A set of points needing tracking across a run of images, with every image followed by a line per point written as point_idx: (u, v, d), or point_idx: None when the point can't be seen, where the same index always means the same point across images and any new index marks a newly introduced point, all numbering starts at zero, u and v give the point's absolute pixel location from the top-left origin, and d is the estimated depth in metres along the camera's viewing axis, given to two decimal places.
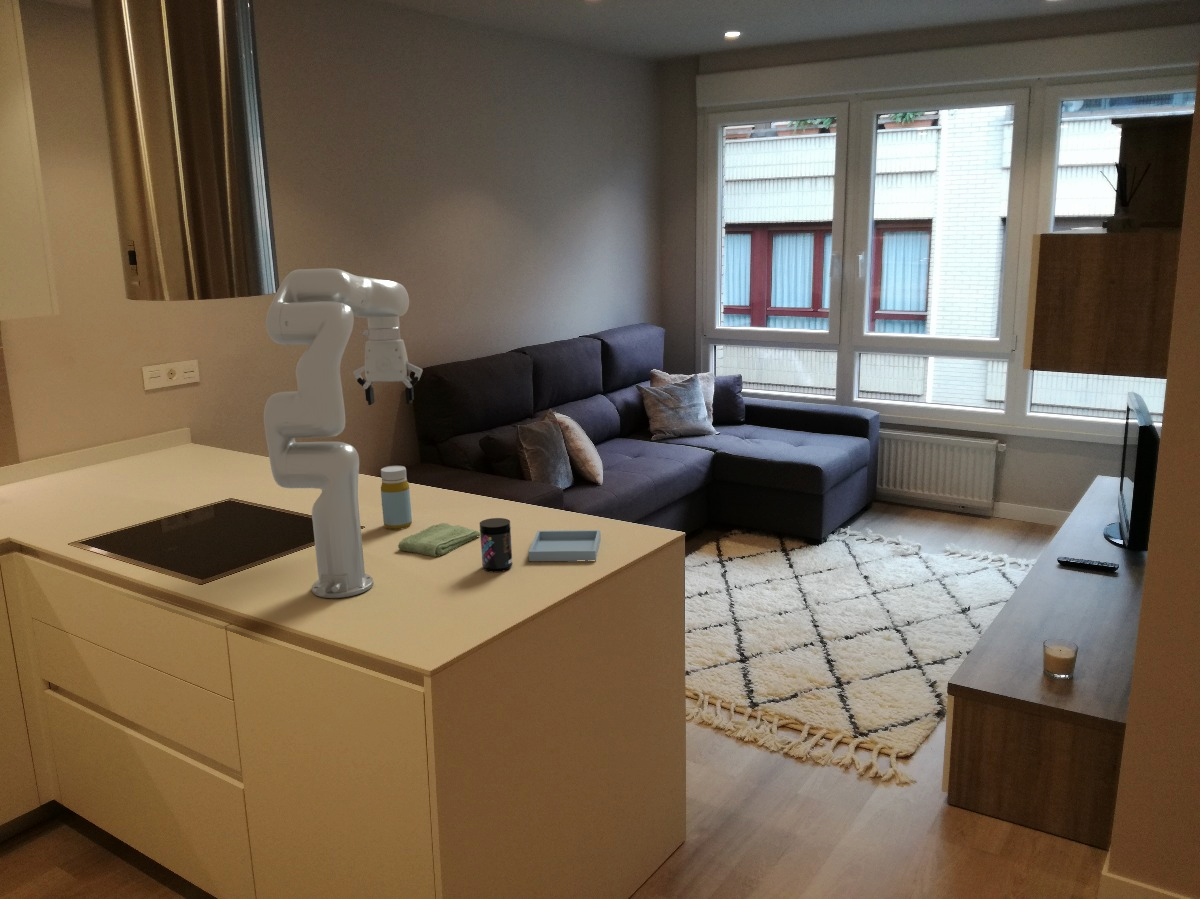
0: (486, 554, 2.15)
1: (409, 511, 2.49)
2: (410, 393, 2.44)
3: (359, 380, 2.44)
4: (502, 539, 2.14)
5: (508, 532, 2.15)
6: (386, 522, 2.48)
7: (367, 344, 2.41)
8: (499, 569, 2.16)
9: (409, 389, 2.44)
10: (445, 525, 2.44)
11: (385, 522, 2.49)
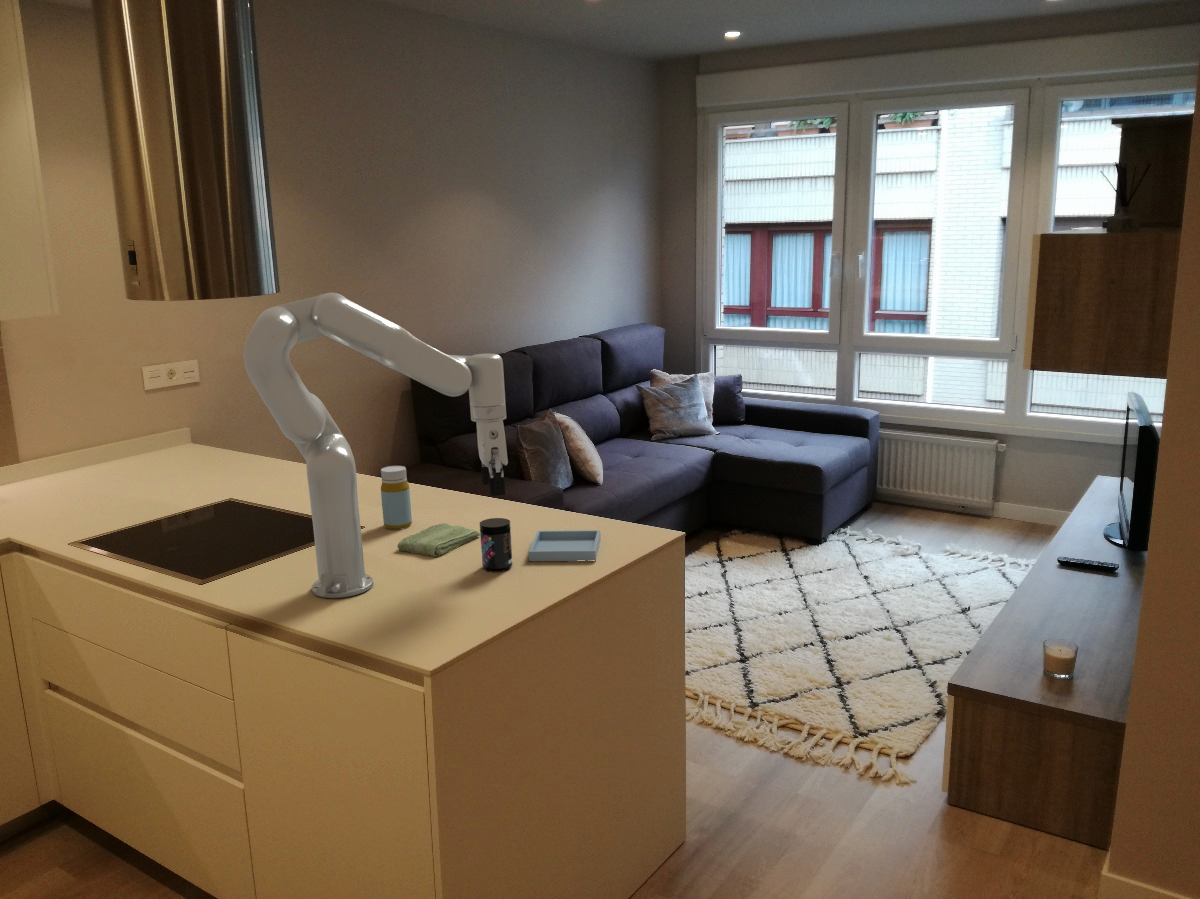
0: (486, 554, 2.15)
1: (409, 511, 2.49)
2: None
3: None
4: (502, 539, 2.14)
5: (508, 532, 2.15)
6: (386, 522, 2.48)
7: (502, 423, 2.08)
8: (499, 569, 2.16)
9: None
10: (445, 525, 2.44)
11: (385, 522, 2.49)
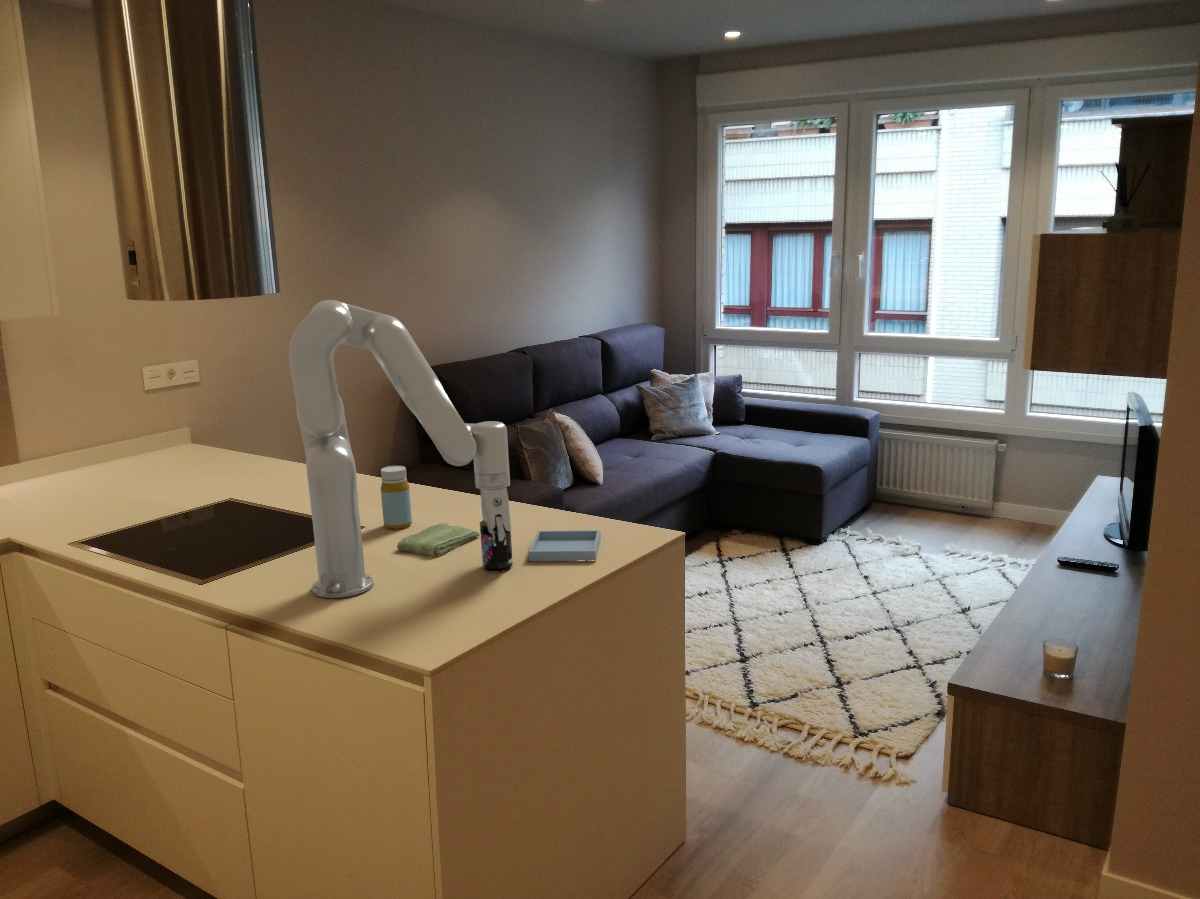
0: (486, 554, 2.15)
1: (409, 511, 2.49)
2: None
3: None
4: None
5: (508, 532, 2.15)
6: (386, 522, 2.48)
7: (506, 490, 2.12)
8: (499, 569, 2.16)
9: None
10: (444, 525, 2.44)
11: (385, 522, 2.49)
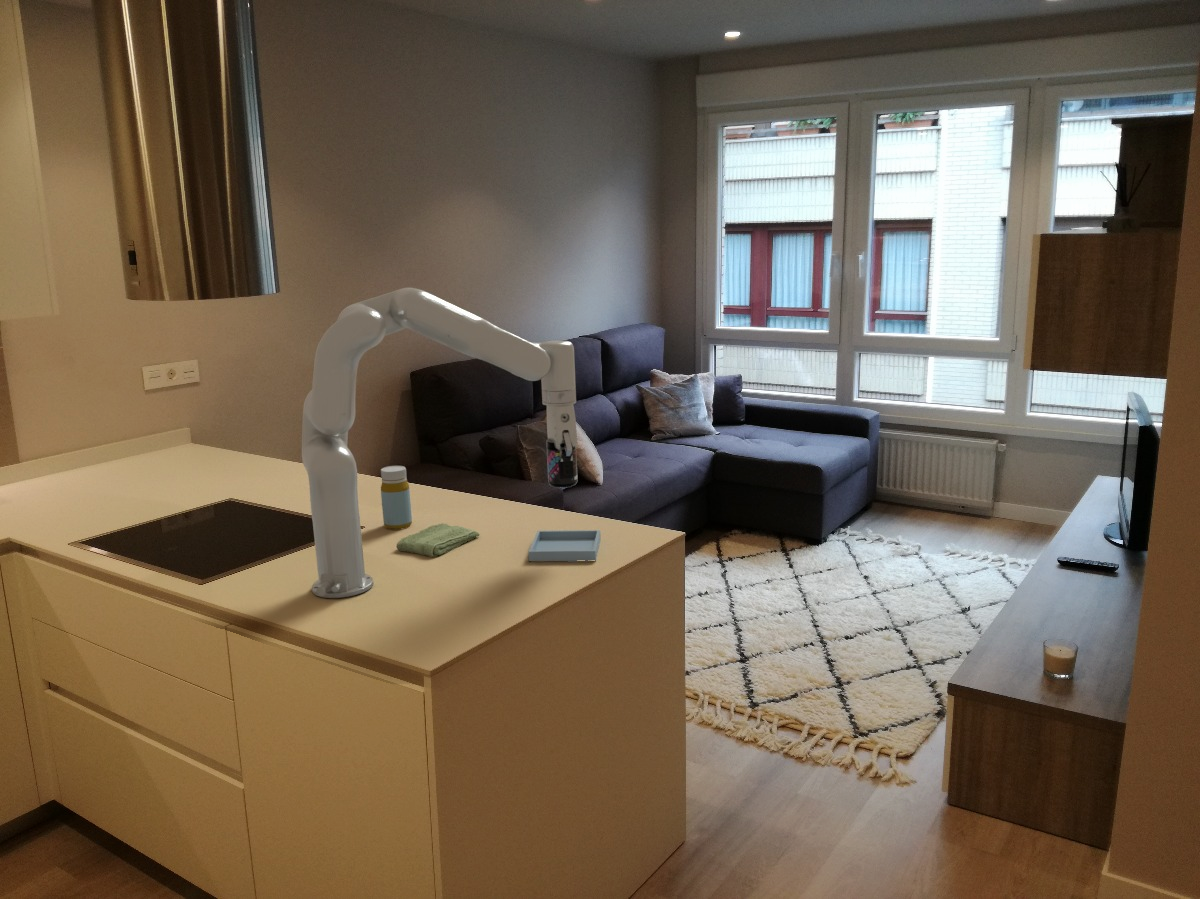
0: (552, 470, 2.21)
1: (409, 511, 2.49)
2: None
3: None
4: None
5: (574, 449, 2.21)
6: (386, 522, 2.48)
7: (573, 407, 2.18)
8: (565, 485, 2.21)
9: None
10: (444, 525, 2.44)
11: (385, 522, 2.49)
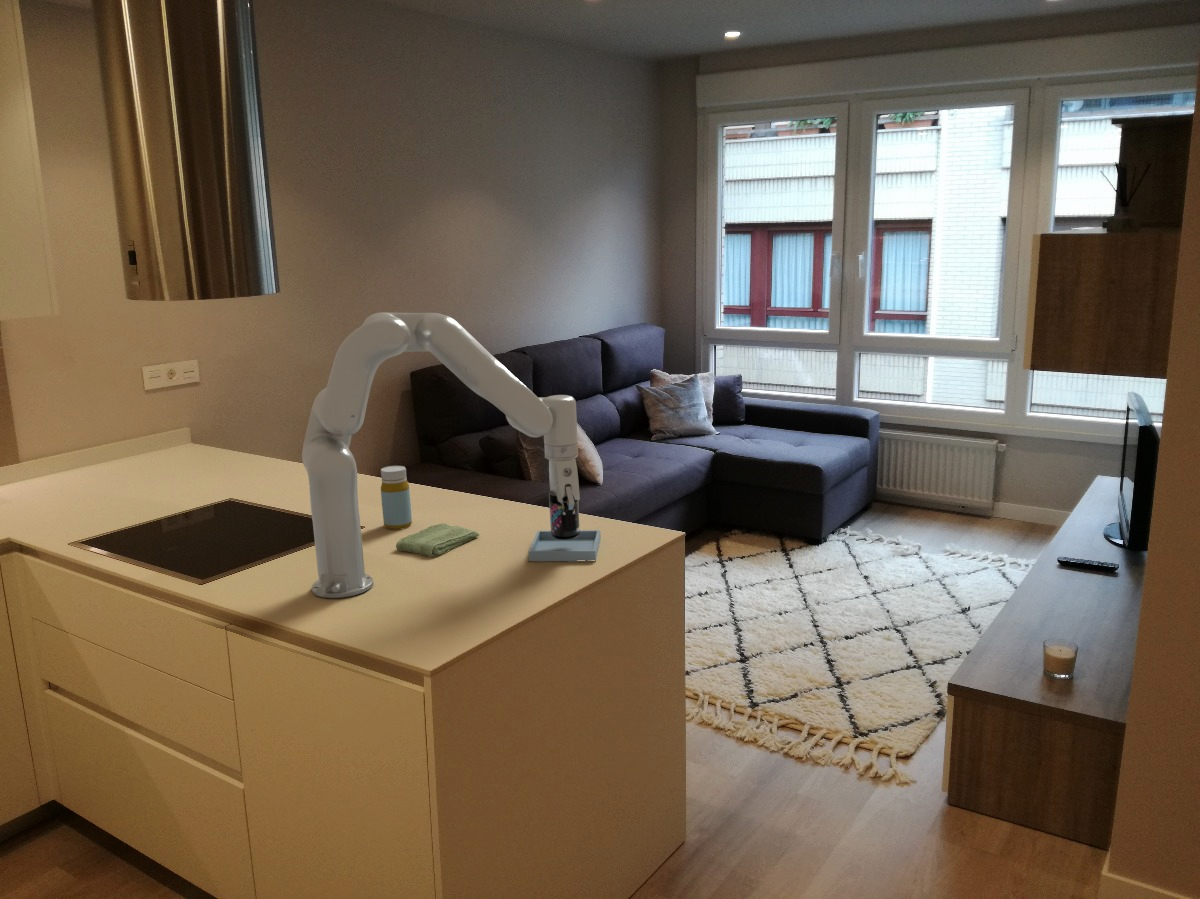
0: (555, 522, 2.24)
1: (409, 511, 2.49)
2: None
3: None
4: None
5: (576, 501, 2.24)
6: (386, 522, 2.48)
7: (575, 461, 2.20)
8: (568, 537, 2.24)
9: None
10: (444, 525, 2.44)
11: (385, 522, 2.49)
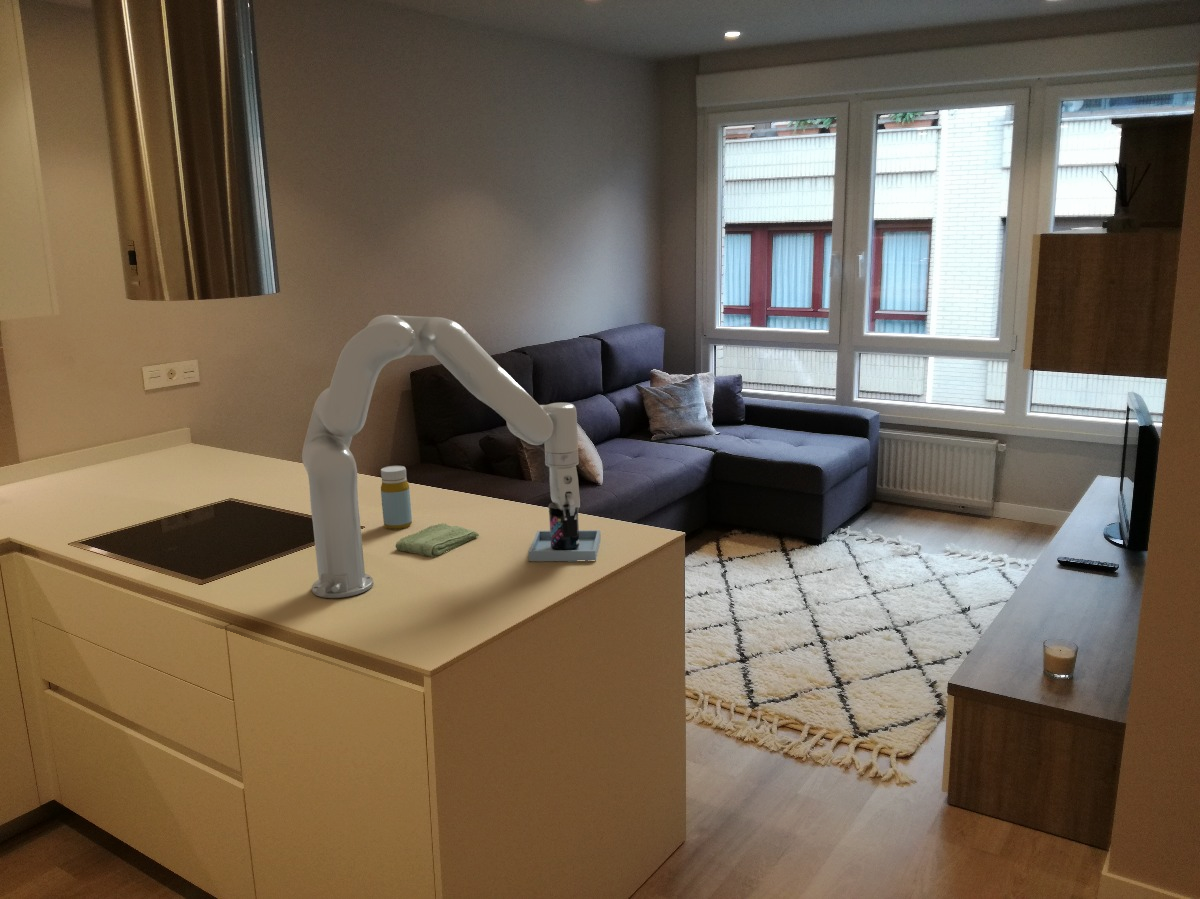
0: (555, 535, 2.25)
1: (409, 511, 2.49)
2: None
3: None
4: None
5: (576, 514, 2.25)
6: (386, 522, 2.48)
7: (576, 469, 2.21)
8: (567, 549, 2.25)
9: None
10: (444, 525, 2.43)
11: (385, 522, 2.49)
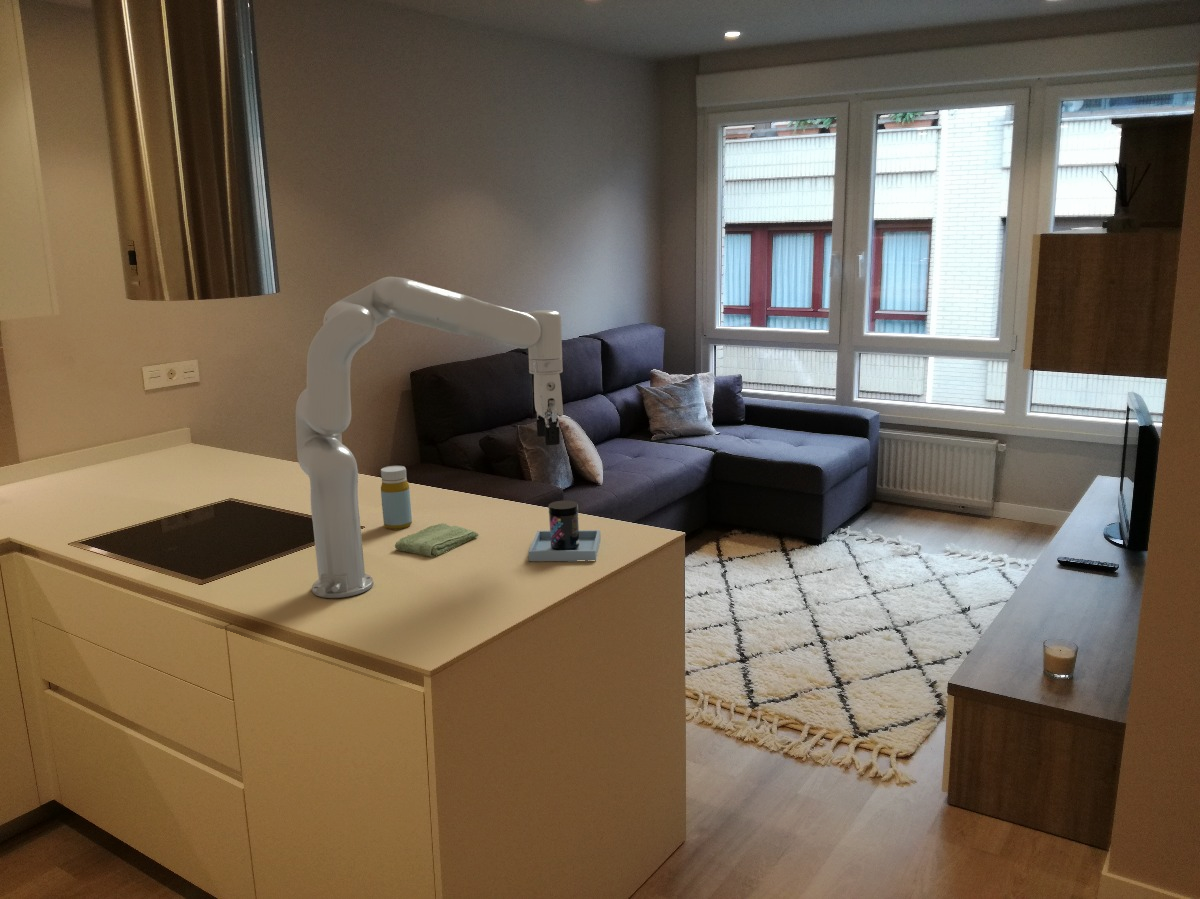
0: (555, 535, 2.25)
1: (409, 511, 2.49)
2: None
3: None
4: (570, 521, 2.24)
5: (576, 514, 2.25)
6: (386, 522, 2.48)
7: (559, 376, 2.20)
8: (567, 549, 2.25)
9: None
10: (443, 525, 2.43)
11: (385, 522, 2.49)
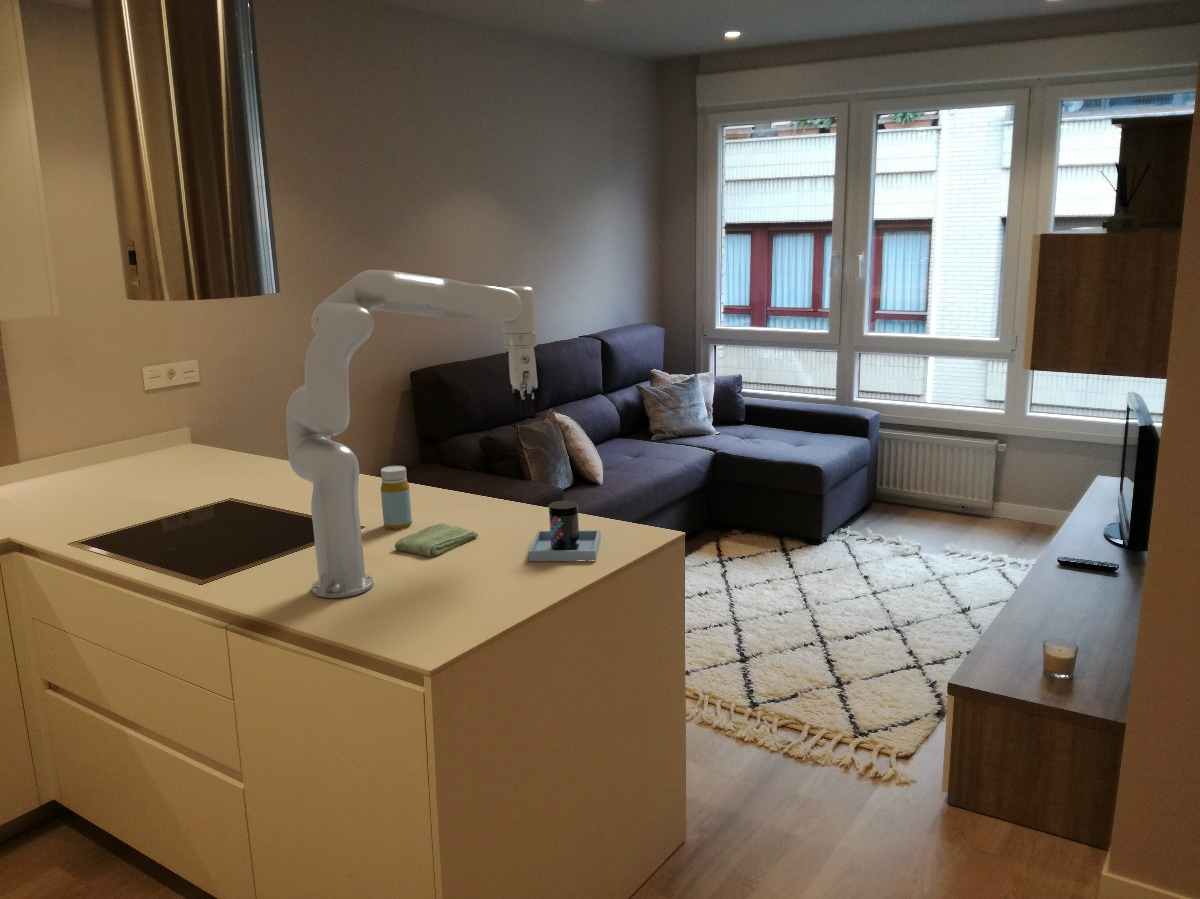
0: (555, 535, 2.25)
1: (409, 511, 2.49)
2: None
3: None
4: (571, 521, 2.24)
5: (576, 514, 2.25)
6: (386, 522, 2.48)
7: (533, 349, 2.27)
8: (567, 549, 2.25)
9: None
10: (443, 525, 2.43)
11: (385, 522, 2.49)
